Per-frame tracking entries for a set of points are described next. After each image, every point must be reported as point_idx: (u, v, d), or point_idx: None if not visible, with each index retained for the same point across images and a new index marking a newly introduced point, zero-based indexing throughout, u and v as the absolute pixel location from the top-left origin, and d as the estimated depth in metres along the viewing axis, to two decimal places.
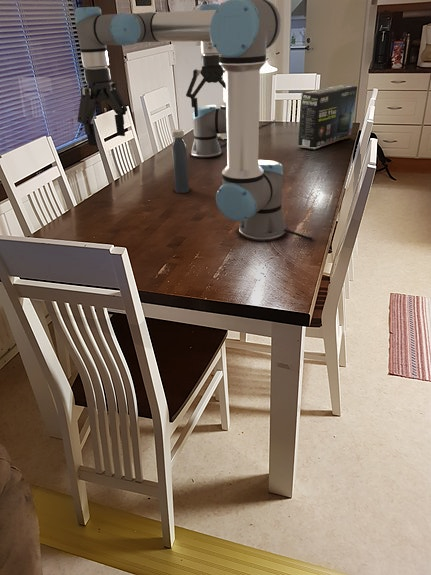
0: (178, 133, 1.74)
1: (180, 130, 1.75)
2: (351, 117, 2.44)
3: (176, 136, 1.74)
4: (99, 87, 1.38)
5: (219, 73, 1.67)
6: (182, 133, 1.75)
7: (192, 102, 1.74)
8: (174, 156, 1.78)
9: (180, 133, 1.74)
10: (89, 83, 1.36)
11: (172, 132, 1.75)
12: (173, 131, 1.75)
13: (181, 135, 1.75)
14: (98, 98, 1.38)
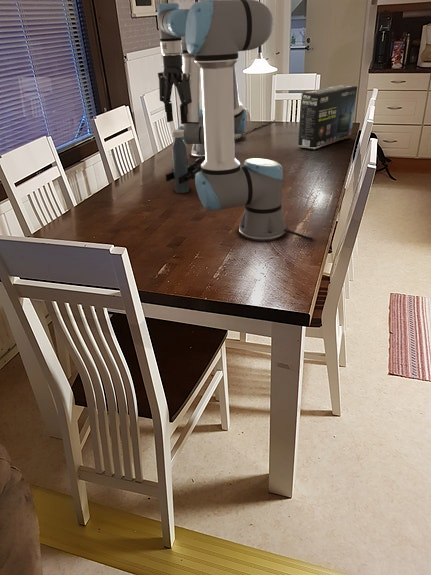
0: (178, 133, 1.74)
1: (180, 130, 1.75)
2: (351, 117, 2.44)
3: (176, 136, 1.74)
4: None
5: None
6: (182, 133, 1.75)
7: None
8: (174, 156, 1.78)
9: (180, 133, 1.74)
10: (180, 67, 1.62)
11: (172, 132, 1.75)
12: (173, 131, 1.75)
13: (181, 135, 1.75)
14: None
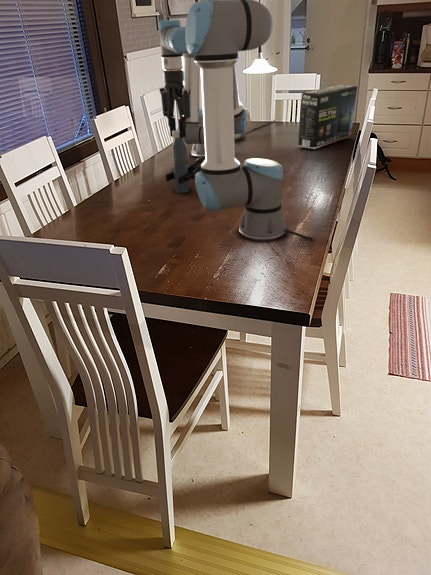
0: (178, 133, 1.74)
1: None
2: (351, 117, 2.44)
3: (176, 136, 1.74)
4: None
5: None
6: None
7: None
8: (174, 156, 1.78)
9: None
10: (181, 82, 1.64)
11: (172, 132, 1.75)
12: (173, 131, 1.75)
13: None
14: None
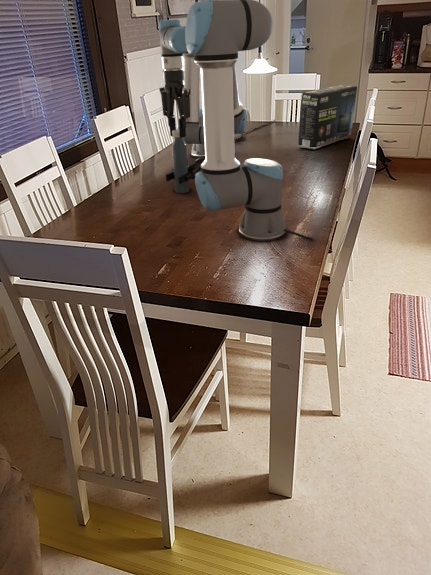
0: None
1: (176, 129, 1.76)
2: (351, 117, 2.44)
3: None
4: None
5: None
6: None
7: None
8: (174, 156, 1.78)
9: None
10: (181, 81, 1.64)
11: None
12: None
13: None
14: None
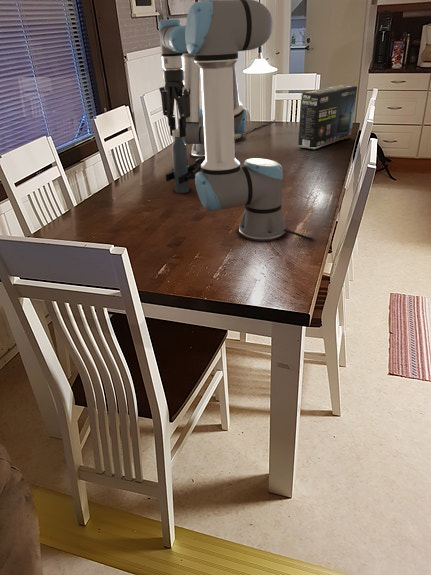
0: None
1: (175, 130, 1.74)
2: (351, 117, 2.44)
3: None
4: None
5: None
6: (172, 132, 1.75)
7: None
8: (174, 156, 1.78)
9: None
10: (181, 81, 1.64)
11: None
12: None
13: None
14: None
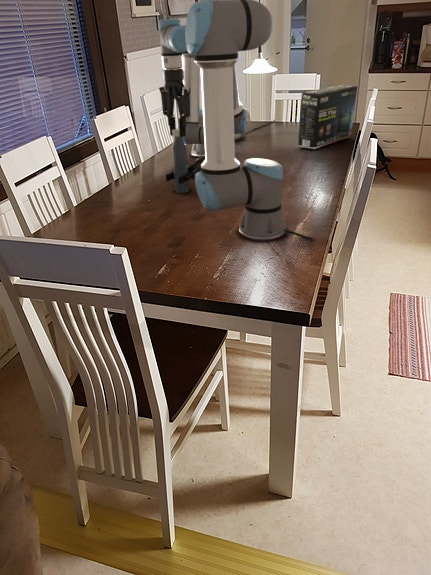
0: (175, 132, 1.74)
1: None
2: (351, 117, 2.44)
3: (173, 135, 1.75)
4: None
5: None
6: (179, 133, 1.74)
7: None
8: (174, 156, 1.78)
9: (177, 132, 1.74)
10: (181, 80, 1.64)
11: None
12: (173, 129, 1.75)
13: (178, 134, 1.74)
14: None
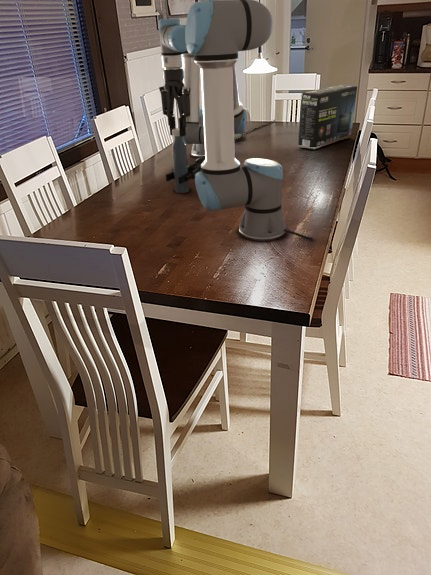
0: None
1: (177, 128, 1.76)
2: (351, 117, 2.44)
3: None
4: None
5: None
6: None
7: None
8: (174, 156, 1.78)
9: None
10: (181, 80, 1.64)
11: (177, 131, 1.73)
12: (178, 130, 1.74)
13: None
14: None
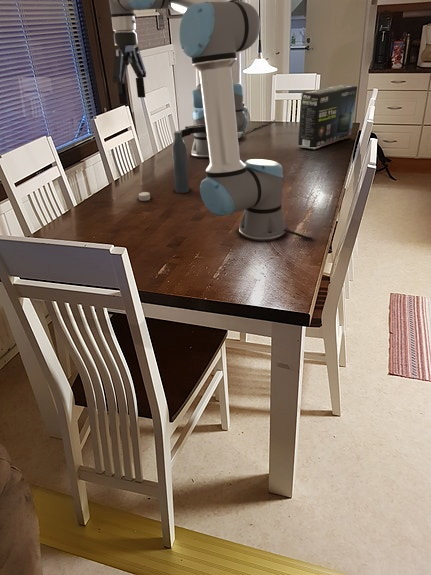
0: None
1: (141, 194, 1.79)
2: (351, 117, 2.44)
3: None
4: None
5: None
6: None
7: None
8: (174, 156, 1.78)
9: None
10: None
11: (149, 194, 1.81)
12: None
13: None
14: None
